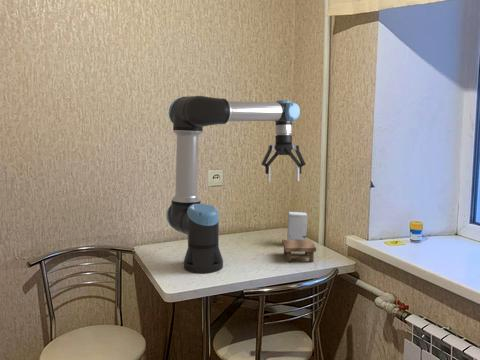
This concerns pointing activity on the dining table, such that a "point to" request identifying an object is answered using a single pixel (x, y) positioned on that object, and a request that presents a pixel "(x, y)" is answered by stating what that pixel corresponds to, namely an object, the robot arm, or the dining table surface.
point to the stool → (299, 249)
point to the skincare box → (297, 226)
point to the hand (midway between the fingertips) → (283, 181)
